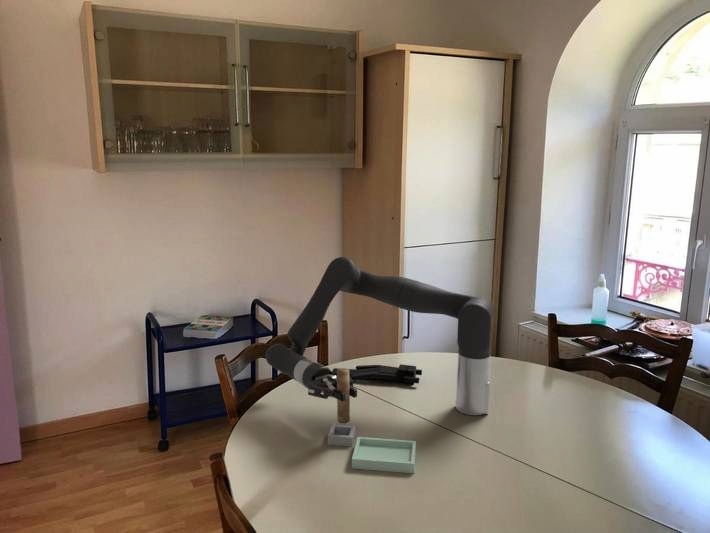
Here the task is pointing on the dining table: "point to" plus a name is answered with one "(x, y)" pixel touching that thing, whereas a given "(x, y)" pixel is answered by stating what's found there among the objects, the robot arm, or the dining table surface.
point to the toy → (385, 373)
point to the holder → (342, 435)
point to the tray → (384, 455)
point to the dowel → (344, 406)
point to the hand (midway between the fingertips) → (350, 395)
